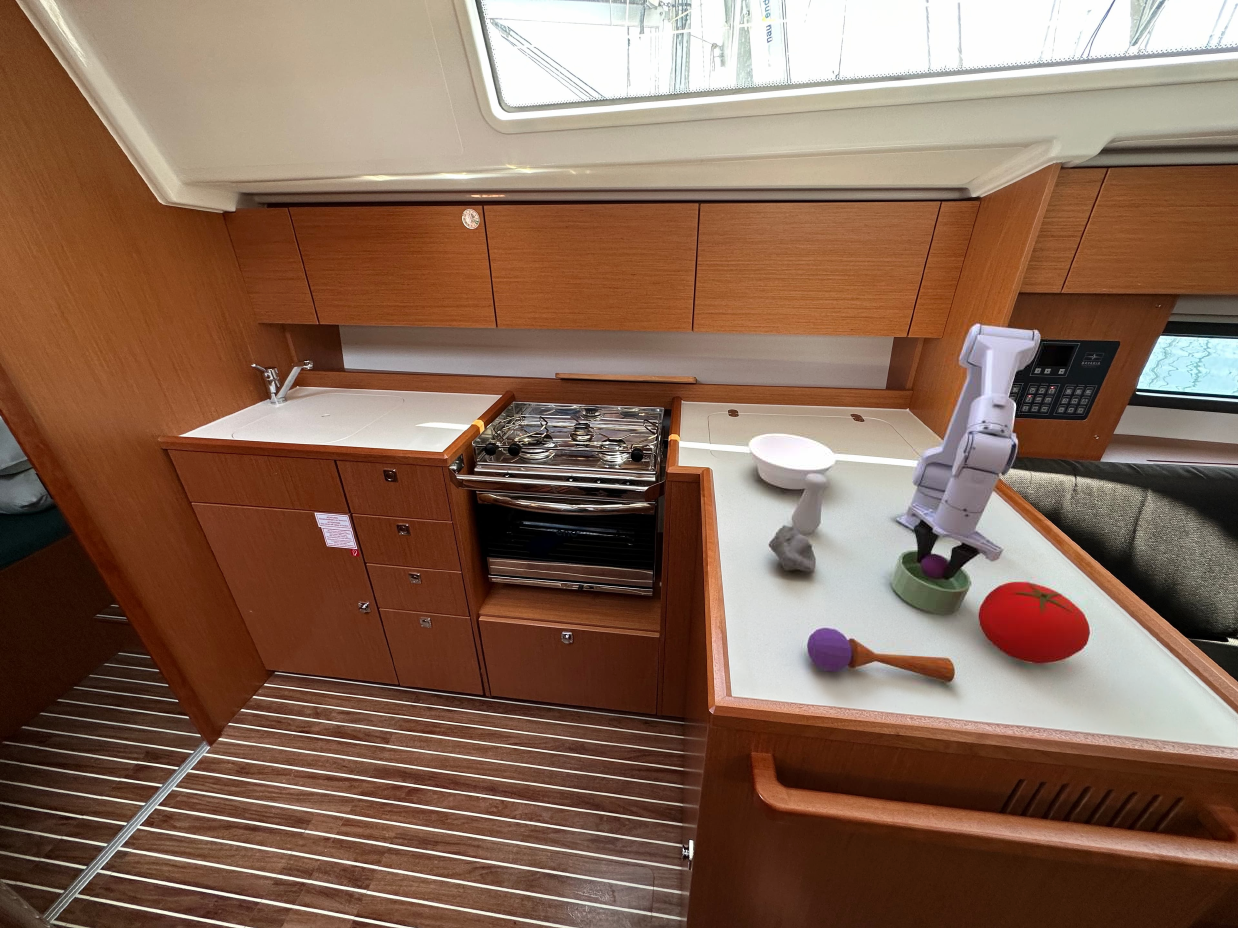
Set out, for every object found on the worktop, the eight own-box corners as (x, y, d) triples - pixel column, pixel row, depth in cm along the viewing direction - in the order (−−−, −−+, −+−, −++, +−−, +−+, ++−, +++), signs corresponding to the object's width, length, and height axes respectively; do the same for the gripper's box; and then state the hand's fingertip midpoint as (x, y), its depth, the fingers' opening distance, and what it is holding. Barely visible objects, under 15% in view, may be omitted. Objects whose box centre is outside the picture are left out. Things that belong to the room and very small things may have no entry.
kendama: (967, 679, 64) (819, 653, 65) (944, 699, 68) (805, 675, 69) (949, 640, 69) (811, 616, 70) (928, 661, 72) (798, 638, 73)
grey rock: (815, 589, 85) (825, 554, 81) (763, 578, 87) (771, 543, 83) (812, 553, 94) (821, 520, 91) (766, 544, 97) (773, 511, 93)
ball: (926, 565, 86) (935, 546, 84) (951, 580, 82) (960, 560, 80) (911, 572, 84) (919, 552, 82) (935, 587, 80) (944, 567, 78)
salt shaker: (819, 538, 99) (835, 485, 93) (791, 534, 100) (804, 481, 94) (815, 523, 104) (829, 471, 98) (788, 519, 105) (800, 468, 99)
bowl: (818, 509, 109) (827, 478, 106) (732, 483, 119) (737, 454, 115) (834, 474, 125) (842, 446, 122) (757, 453, 135) (762, 427, 131)
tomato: (950, 625, 78) (976, 574, 73) (1009, 612, 82) (1037, 561, 76) (1022, 686, 68) (1058, 631, 63) (1086, 667, 71) (1124, 614, 66)
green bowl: (914, 567, 92) (923, 544, 89) (972, 604, 83) (985, 580, 80) (876, 582, 87) (885, 559, 85) (934, 623, 78) (946, 599, 76)
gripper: (905, 487, 80) (882, 551, 86) (997, 533, 69) (963, 602, 75) (931, 479, 83) (907, 541, 89) (1023, 522, 72) (988, 590, 78)
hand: (934, 569), depth 82 cm, fingers closed on ball, 4 cm apart
